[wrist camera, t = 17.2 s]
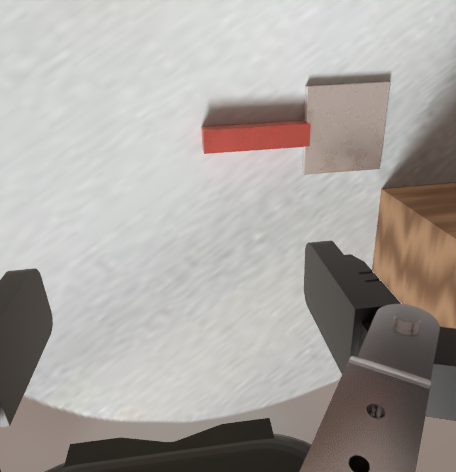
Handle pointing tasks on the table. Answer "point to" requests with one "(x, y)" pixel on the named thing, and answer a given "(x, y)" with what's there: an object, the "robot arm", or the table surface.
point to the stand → (419, 248)
